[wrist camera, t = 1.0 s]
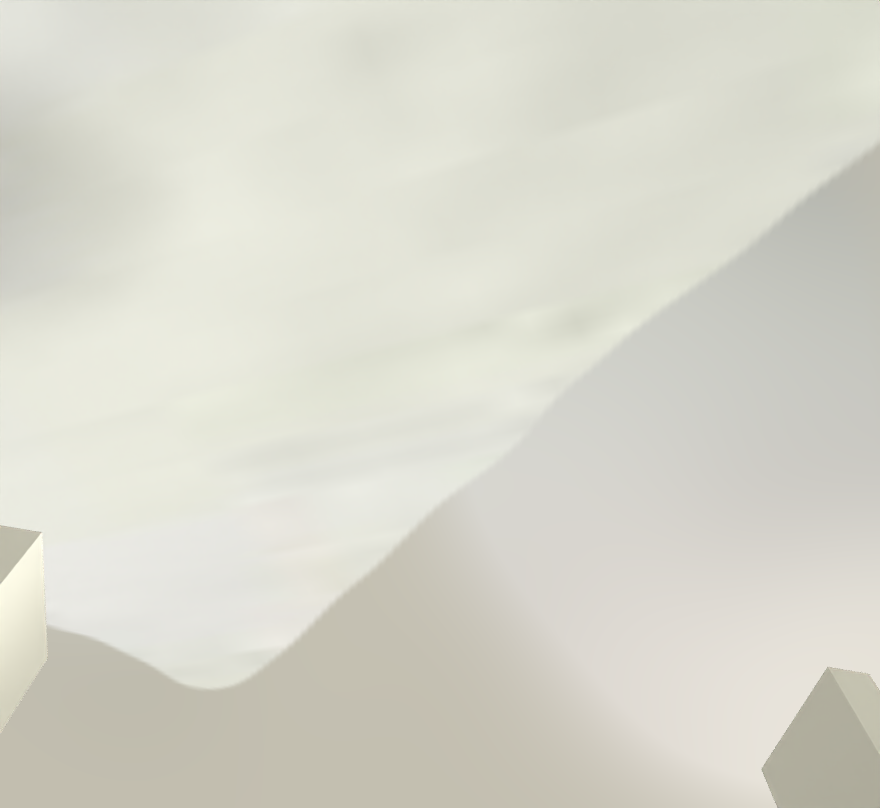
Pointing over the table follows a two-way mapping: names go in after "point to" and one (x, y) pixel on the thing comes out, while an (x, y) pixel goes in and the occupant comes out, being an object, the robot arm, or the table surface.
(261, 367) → the table surface
